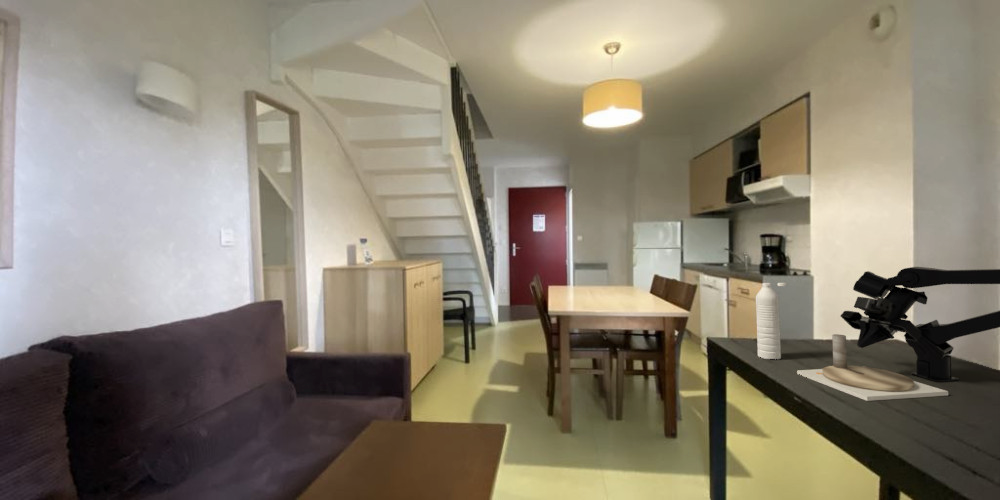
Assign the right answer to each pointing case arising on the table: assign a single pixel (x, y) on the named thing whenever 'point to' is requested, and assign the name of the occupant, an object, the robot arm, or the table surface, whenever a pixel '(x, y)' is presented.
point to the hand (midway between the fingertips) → (859, 346)
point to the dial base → (872, 394)
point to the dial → (862, 372)
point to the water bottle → (768, 322)
